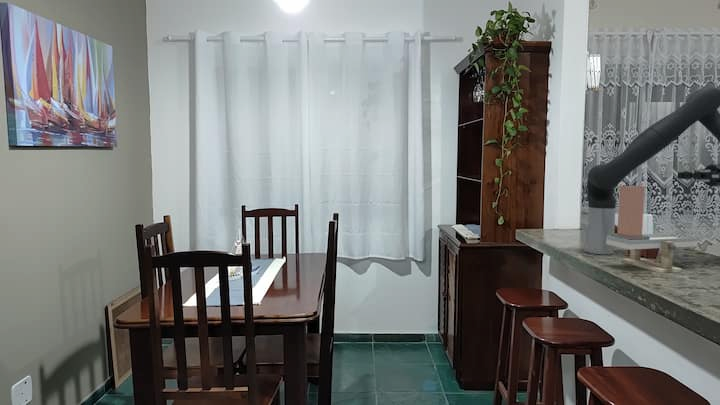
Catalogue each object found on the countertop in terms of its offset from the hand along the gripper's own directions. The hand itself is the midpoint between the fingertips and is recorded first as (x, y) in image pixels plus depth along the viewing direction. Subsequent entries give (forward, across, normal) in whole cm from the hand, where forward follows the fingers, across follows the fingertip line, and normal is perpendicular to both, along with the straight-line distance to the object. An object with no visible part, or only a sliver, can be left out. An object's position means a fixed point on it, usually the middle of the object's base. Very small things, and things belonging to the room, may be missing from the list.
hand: (679, 175), depth 163 cm
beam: (+10, 0, +22) cm, 24 cm away
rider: (+18, 0, +21) cm, 28 cm away
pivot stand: (+10, 0, +30) cm, 32 cm away
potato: (-10, -45, +30) cm, 55 cm away
